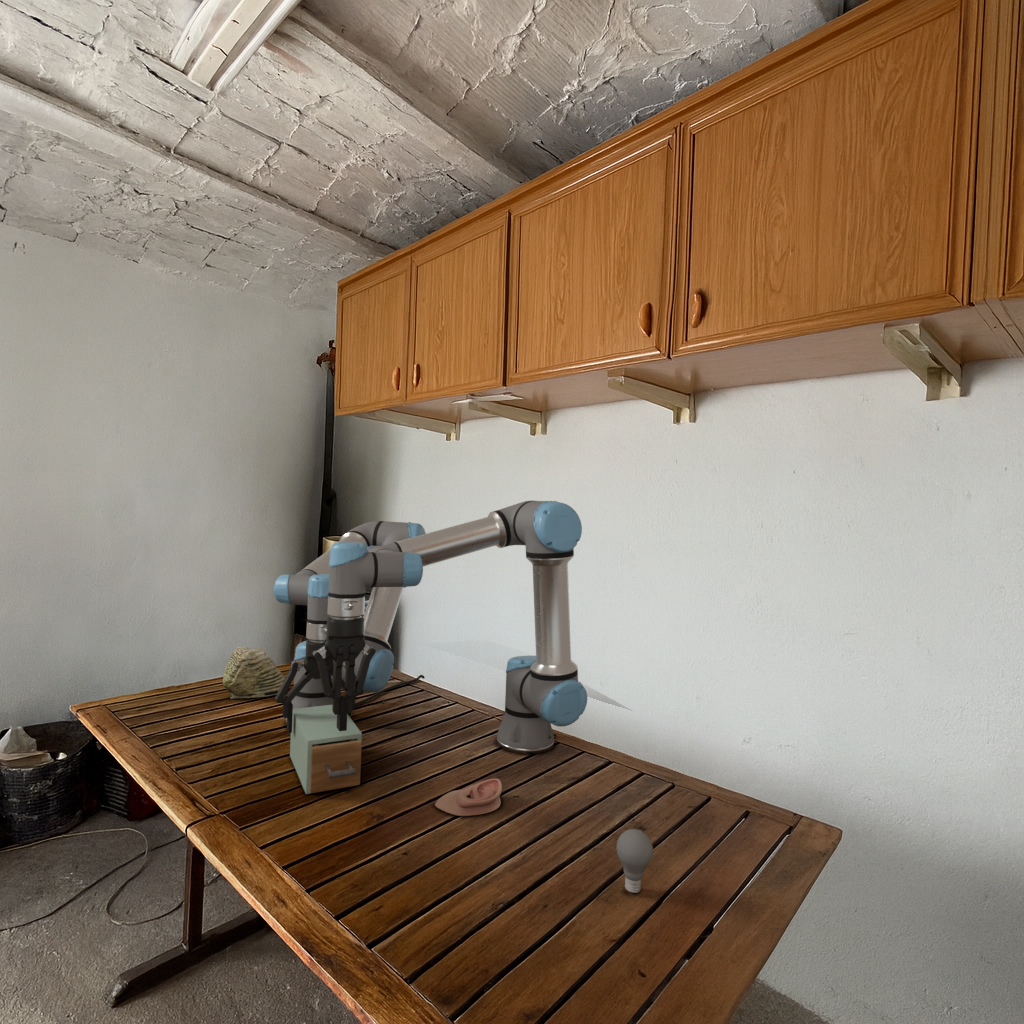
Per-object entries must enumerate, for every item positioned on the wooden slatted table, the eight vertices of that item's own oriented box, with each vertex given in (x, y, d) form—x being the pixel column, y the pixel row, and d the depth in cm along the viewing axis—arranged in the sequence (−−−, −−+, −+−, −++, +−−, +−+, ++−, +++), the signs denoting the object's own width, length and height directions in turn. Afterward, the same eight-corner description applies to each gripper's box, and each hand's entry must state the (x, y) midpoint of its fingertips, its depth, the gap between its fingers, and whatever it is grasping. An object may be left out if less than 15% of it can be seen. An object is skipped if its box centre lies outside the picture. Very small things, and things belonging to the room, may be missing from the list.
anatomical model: (430, 792, 129) (447, 769, 140) (429, 811, 129) (446, 787, 140) (494, 801, 126) (506, 777, 137) (493, 821, 126) (505, 795, 138)
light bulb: (610, 879, 108) (613, 822, 108) (644, 879, 109) (647, 822, 109) (619, 902, 102) (622, 840, 102) (655, 901, 103) (658, 840, 103)
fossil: (218, 695, 195) (220, 647, 195) (278, 685, 208) (279, 640, 207) (228, 703, 189) (230, 653, 188) (289, 692, 201) (290, 645, 201)
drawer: (366, 796, 133) (368, 751, 133) (315, 805, 128) (317, 758, 128) (338, 750, 156) (340, 712, 156) (294, 756, 151) (296, 717, 151)
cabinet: (360, 784, 140) (362, 733, 140) (305, 794, 135) (307, 740, 134) (338, 749, 159) (339, 703, 159) (289, 755, 154) (291, 709, 153)
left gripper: (269, 646, 143) (265, 739, 143) (377, 639, 154) (374, 726, 155) (265, 639, 149) (261, 728, 150) (369, 633, 161) (366, 716, 161)
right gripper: (317, 621, 126) (312, 739, 126) (381, 618, 132) (377, 730, 132) (310, 614, 132) (306, 726, 133) (371, 611, 138) (367, 719, 139)
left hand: (318, 727), depth 152 cm, fingers open, 13 cm apart
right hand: (341, 728), depth 132 cm, fingers closed
